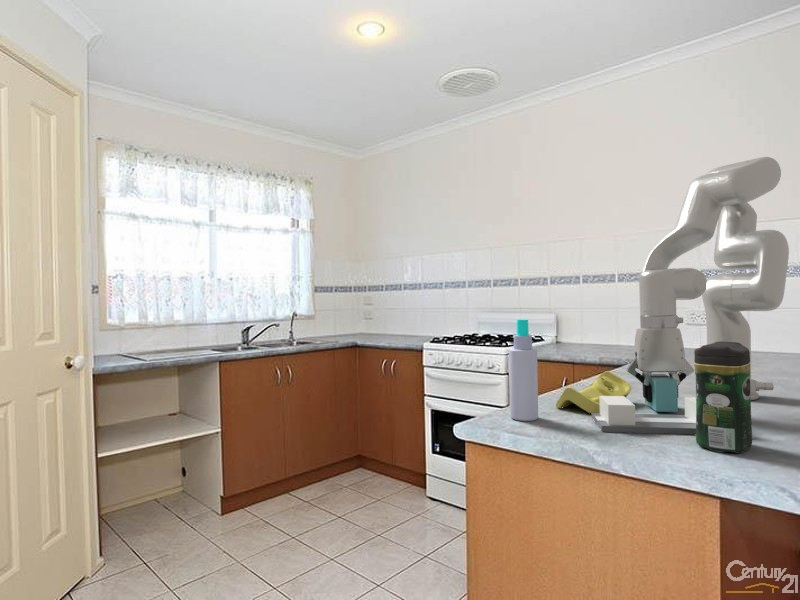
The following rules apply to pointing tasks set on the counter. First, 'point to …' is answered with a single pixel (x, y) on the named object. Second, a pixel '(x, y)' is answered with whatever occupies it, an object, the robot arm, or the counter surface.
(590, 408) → the plastic component
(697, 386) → the coffee jar
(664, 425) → the rail board
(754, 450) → the counter surface
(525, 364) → the spray bottle
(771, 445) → the counter surface
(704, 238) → the robot arm
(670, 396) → the block
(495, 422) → the counter surface
